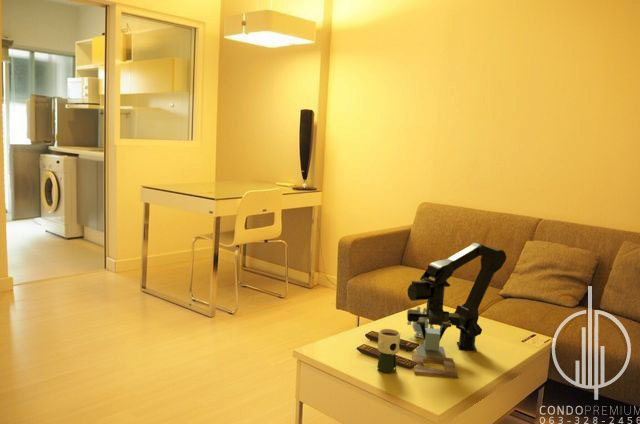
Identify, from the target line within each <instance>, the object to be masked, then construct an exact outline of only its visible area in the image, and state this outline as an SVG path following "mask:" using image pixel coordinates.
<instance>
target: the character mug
mask: <svg viewBox="0 0 640 424" xmlns="http://www.w3.org/2000/svg"><path fill="white" fill-rule="evenodd" d="M400 342H401V332H400V331H399V330H397V329H393V328H382V329H379V330H378V339H377V351H379V352H380V353H379V356H378V361H377V366H376V367H377V369H378V370H380V371H382V372H384V373H394V372H395V371H397V355H396V354H398V353H399V352H400Z"/></svg>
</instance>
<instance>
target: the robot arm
mask: <svg viewBox="0 0 640 424" xmlns="http://www.w3.org/2000/svg"><path fill="white" fill-rule="evenodd" d="M479 256H481V257H480V269H479V272H478V274H477V276H476V279H475V280H474V282H473V285H472V286H471V290H470V292H469V294H468V296H467V298H466V300H465V302H464V303H463V304H462V305H460V304H458V305H456V309H455V311H454V312H450V311H446V310H444V300H445V299H444V298H445V290H446V289H445V288H447V287H451V284H450V283H449V282H448V281H447V280H448V279H450V278H451V277H452V276H453V275H454V273H455V271H456V270H458V269H460V268H461V267H463V266H464V265H467V264H468V263H469V262H472V261H473V260H475V259H476V258H478V257H479ZM506 260H507V255H506V252H505V251H504V250H503V249H499V248H496V247H493V246H485V245H484V244H481V243H478V242H472V243H471V244H470V245H469V246H467V247H465V248H464V249H462V250H460V251H458V252H456V253H454V254H453V255H452V256H449V257H448V258H445V259H440V260H439V259H438V260H436V261H433V262H431V263H429V264H428V266H427V269H426V270H425V271H424V273H423V274H422V275H421V277H420V278H419V280H412V281H411V284H410V285H408V288H407V296H408V299H409V300H410V301H411V302H415V301H424V300H426V306H425V308H426V313H425V314H423V313H419V311H418V310H417V309H412V308H411V309H410V308H409V309H407V312H406V319H407V322H408V321H411V323H413V322H416V323H417V324H420V327H421V329H422V333H423V338H422V339H423V341H424V340H425V321H424V320H425V319H427V320H428V322H429V324H430V325H432V326H440V327H439V331H440V341H441V340H442V338H443V336H444V333H445V331H446V330H447V329H448V328H451V327H452V326H455V328H456V329H458V330H459V339H458V340H459V341H456V345H457V348H458V349H459V350H462V351H470V352H471V351H473V352H477V350H478V349H477V347H476V338H477V337H478V336H481V334H482V331H483V329H482V327H481V326H480V325H479V323H478V321H479V315H480V314H479V308H480V306H481V304H482V301H483V299H484V296H485V294H486V293H487V290H488V287H489V285H490V284H491V281H492V278H493V276H494V275H495V274H496V273H497V272H498V271H499V270H500V269H502V267H503V266H504V264H505V263H506ZM429 324H428V325H429ZM430 325H429V326H430Z"/></svg>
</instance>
